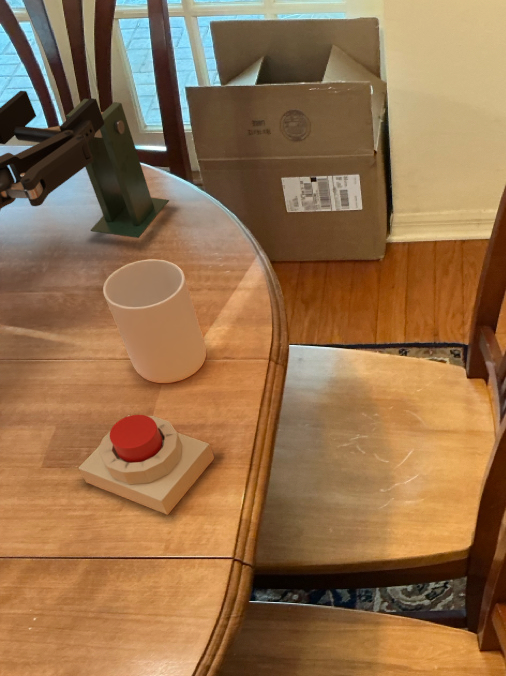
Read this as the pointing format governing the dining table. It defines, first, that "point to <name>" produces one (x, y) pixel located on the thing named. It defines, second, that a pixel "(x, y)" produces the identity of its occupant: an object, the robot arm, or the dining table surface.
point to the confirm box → (150, 469)
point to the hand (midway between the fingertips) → (62, 107)
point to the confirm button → (136, 438)
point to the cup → (156, 320)
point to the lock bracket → (119, 178)
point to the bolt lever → (40, 133)
